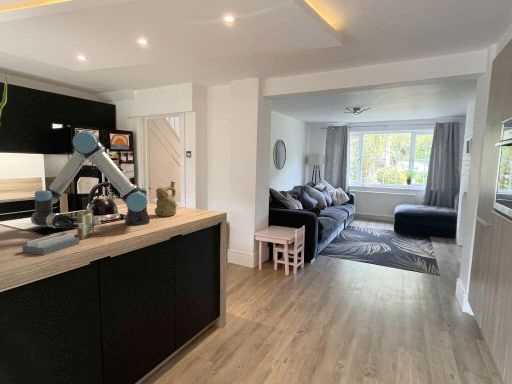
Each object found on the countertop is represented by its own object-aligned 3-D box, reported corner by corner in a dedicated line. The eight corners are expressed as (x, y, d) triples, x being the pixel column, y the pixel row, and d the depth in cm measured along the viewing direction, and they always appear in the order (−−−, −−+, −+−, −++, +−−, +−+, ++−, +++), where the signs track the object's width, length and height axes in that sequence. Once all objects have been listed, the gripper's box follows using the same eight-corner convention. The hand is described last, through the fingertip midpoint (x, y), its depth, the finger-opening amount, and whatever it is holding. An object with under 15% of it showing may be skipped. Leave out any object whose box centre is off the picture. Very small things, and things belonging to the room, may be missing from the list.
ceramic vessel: (148, 216, 212) (148, 182, 210) (166, 211, 230) (166, 180, 227) (167, 218, 206) (166, 183, 203) (184, 214, 224) (184, 181, 221)
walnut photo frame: (89, 235, 158) (88, 209, 156) (94, 235, 157) (93, 210, 156) (77, 239, 149) (76, 212, 147) (82, 239, 148) (81, 213, 147)
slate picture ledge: (59, 241, 145) (59, 231, 144) (79, 243, 142) (78, 233, 141) (22, 252, 128) (21, 241, 127) (43, 255, 125) (43, 243, 124)
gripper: (76, 223, 168) (108, 226, 162) (39, 232, 147) (74, 236, 141) (75, 210, 167) (108, 213, 161) (38, 217, 146) (74, 221, 140)
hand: (92, 224), depth 151 cm, fingers closed on walnut photo frame, 9 cm apart
